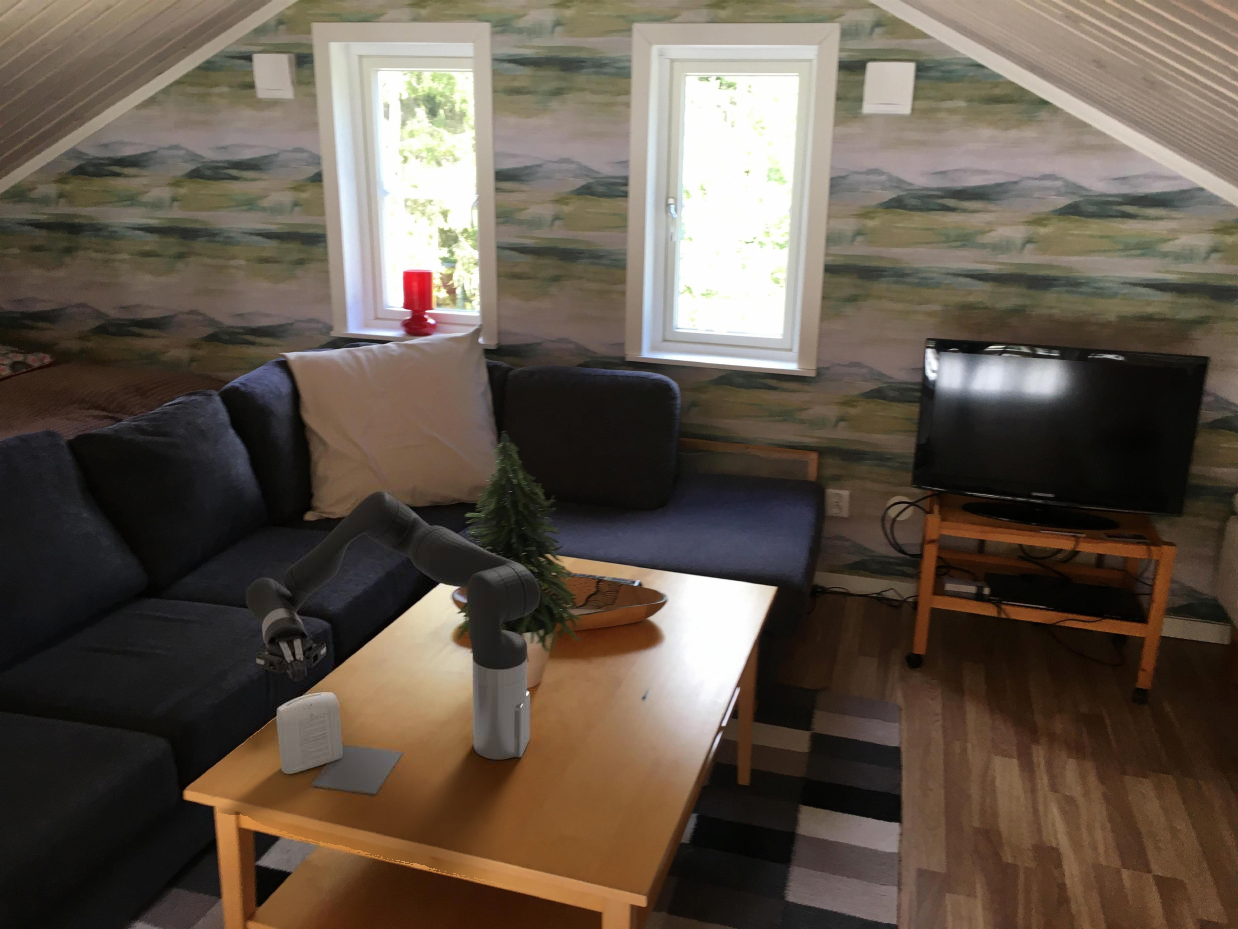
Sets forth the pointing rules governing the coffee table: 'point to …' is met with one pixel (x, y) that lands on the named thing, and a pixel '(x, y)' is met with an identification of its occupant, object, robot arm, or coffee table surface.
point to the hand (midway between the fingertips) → (299, 675)
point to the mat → (358, 770)
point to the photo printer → (309, 732)
